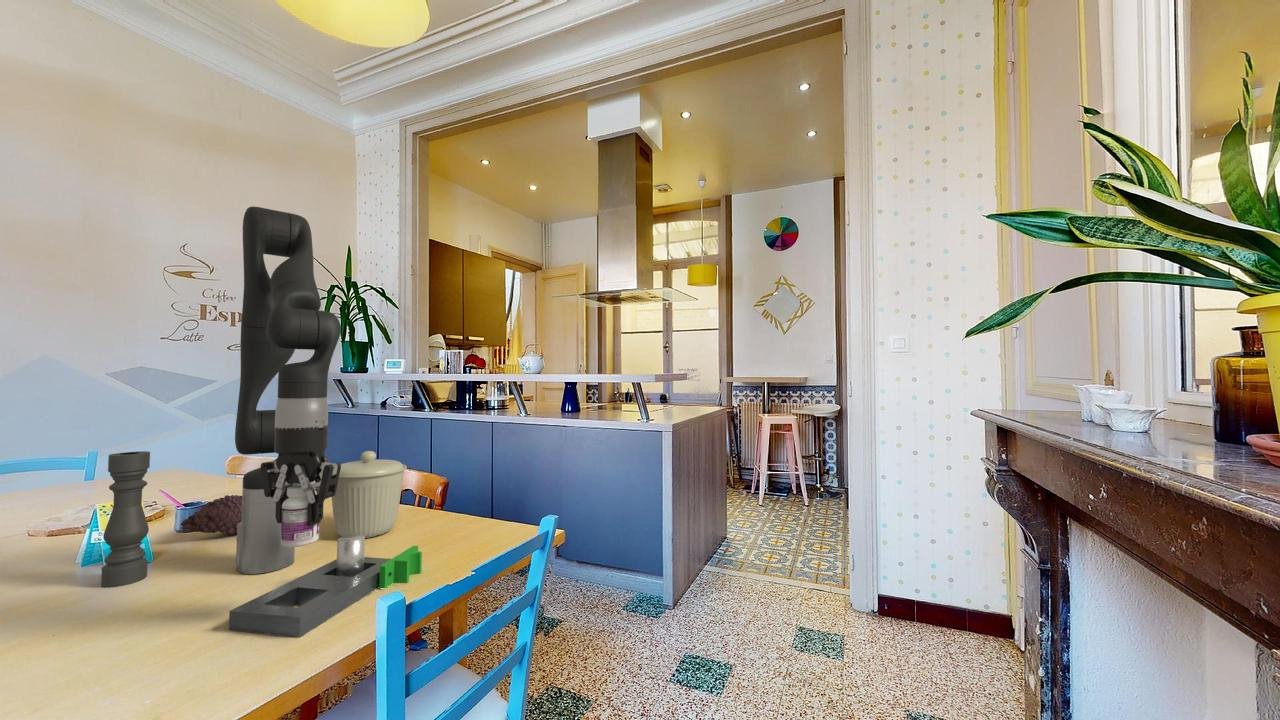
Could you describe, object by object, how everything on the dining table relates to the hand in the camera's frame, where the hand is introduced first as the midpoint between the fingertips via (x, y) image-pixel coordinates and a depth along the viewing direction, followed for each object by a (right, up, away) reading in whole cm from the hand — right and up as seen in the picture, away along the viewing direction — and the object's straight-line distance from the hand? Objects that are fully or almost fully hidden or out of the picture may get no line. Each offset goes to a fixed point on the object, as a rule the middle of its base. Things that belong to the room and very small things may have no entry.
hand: (299, 522), depth 82 cm
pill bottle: (0, -4, 0) cm, 4 cm away
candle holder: (-43, -16, +12) cm, 48 cm away
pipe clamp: (+11, -17, +15) cm, 25 cm away
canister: (-12, -17, +42) cm, 47 cm away
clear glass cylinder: (+2, -16, +11) cm, 20 cm away
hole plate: (+1, -16, +5) cm, 17 cm away
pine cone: (-46, -17, +39) cm, 63 cm away
